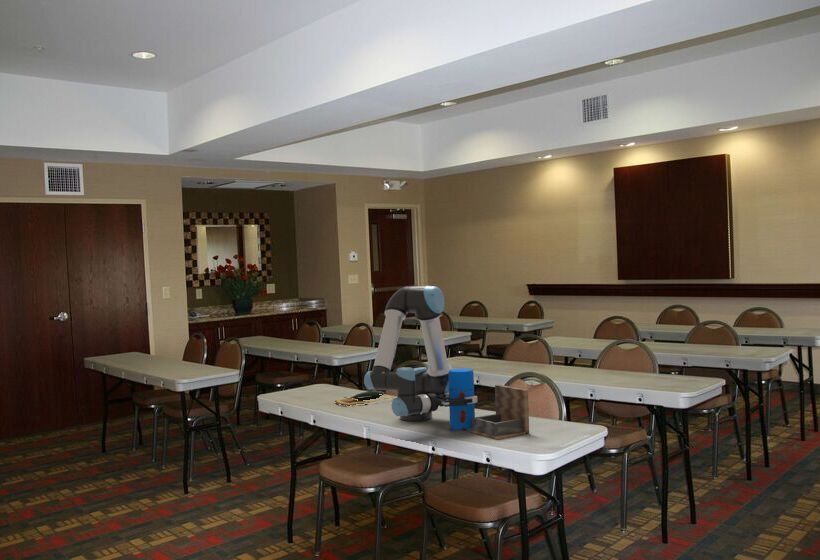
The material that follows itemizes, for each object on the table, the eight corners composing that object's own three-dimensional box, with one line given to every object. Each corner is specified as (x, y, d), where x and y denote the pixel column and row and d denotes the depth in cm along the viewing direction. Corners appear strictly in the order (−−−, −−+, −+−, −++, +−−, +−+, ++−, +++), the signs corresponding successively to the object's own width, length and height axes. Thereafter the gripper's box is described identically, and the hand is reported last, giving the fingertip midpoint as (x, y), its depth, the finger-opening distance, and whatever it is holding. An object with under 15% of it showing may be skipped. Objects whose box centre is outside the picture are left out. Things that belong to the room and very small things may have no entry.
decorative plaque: (379, 383, 394) (397, 388, 377) (379, 396, 394) (398, 401, 377) (329, 389, 377) (346, 394, 360) (329, 403, 377) (347, 409, 360)
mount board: (468, 431, 298) (467, 389, 298) (499, 426, 307) (498, 384, 307) (497, 439, 282) (495, 394, 282) (529, 433, 291) (528, 389, 291)
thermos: (450, 431, 300) (449, 372, 300) (449, 425, 311) (447, 368, 311) (476, 430, 300) (474, 371, 300) (473, 424, 311) (472, 368, 311)
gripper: (410, 407, 306) (450, 401, 318) (443, 416, 285) (485, 409, 296) (410, 390, 306) (450, 385, 317) (443, 398, 285) (484, 392, 296)
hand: (467, 397), depth 307 cm, fingers open, 13 cm apart
